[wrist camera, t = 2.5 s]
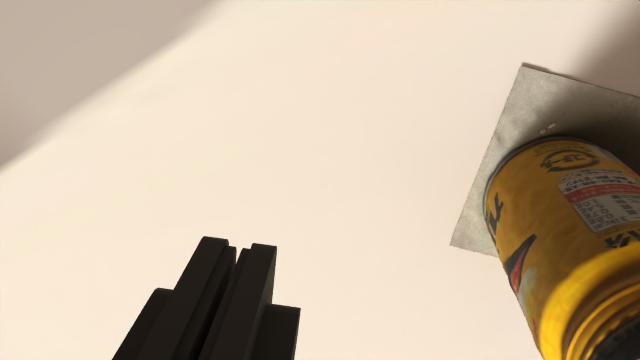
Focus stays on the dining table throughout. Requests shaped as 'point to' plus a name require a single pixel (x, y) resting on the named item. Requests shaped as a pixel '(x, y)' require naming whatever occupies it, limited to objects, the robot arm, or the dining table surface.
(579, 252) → the condiment
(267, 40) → the dining table surface
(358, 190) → the dining table surface
